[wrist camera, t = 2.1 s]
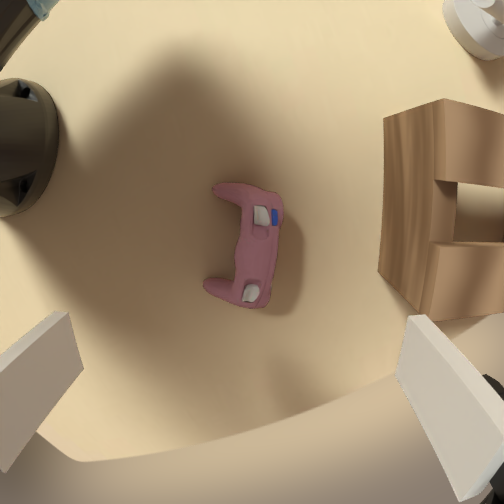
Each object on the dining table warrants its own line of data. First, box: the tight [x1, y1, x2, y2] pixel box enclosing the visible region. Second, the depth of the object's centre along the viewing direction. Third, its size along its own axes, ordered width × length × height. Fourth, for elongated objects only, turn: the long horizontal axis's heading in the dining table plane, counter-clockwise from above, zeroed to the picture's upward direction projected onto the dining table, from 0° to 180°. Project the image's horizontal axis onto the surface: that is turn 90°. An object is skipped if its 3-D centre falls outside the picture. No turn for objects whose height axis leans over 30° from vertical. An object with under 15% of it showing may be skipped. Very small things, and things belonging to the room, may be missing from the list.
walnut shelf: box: [378, 98, 504, 322], centre depth 21 cm, size 18×14×10 cm
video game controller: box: [203, 183, 284, 309], centre depth 25 cm, size 10×5×7 cm, turn 173°
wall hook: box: [443, 0, 504, 61], centre depth 16 cm, size 9×10×10 cm
